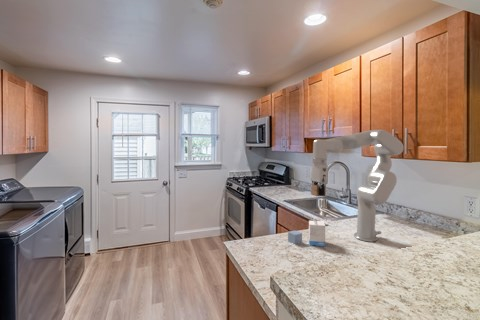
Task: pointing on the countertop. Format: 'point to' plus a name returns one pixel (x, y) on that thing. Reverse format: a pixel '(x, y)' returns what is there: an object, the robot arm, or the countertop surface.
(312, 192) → the walnut cube
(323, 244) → the ink box
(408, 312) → the countertop surface
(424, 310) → the countertop surface
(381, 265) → the countertop surface
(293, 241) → the slate cube
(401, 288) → the countertop surface
